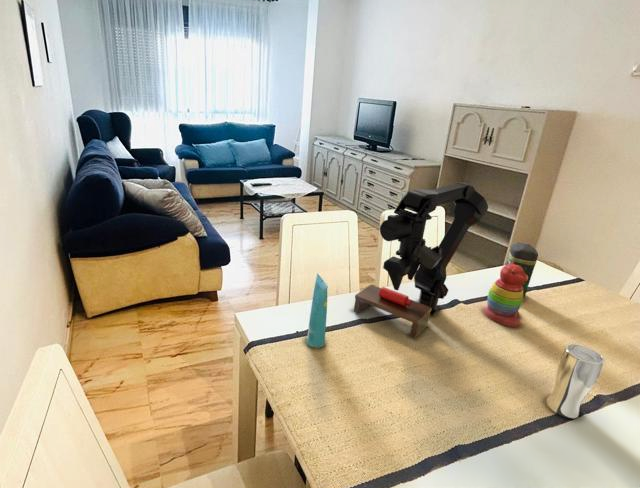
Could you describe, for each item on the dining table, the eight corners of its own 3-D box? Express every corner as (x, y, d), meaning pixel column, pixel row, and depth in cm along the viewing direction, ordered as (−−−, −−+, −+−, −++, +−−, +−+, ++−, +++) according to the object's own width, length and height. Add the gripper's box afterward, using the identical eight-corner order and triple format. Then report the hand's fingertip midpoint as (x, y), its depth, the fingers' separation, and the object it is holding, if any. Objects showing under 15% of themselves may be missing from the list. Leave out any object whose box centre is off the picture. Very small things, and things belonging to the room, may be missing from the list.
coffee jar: (526, 303, 130) (542, 253, 124) (500, 297, 133) (514, 248, 126) (521, 290, 139) (536, 243, 132) (497, 286, 142) (510, 239, 135)
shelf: (368, 300, 127) (371, 284, 125) (428, 324, 115) (431, 307, 113) (352, 311, 120) (355, 294, 118) (414, 339, 108) (418, 321, 106)
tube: (329, 349, 102) (337, 285, 95) (313, 352, 100) (319, 287, 93) (317, 333, 108) (323, 272, 101) (301, 336, 107) (307, 274, 100)
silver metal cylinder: (574, 401, 88) (597, 347, 83) (586, 424, 82) (611, 367, 77) (540, 393, 90) (560, 340, 85) (549, 414, 84) (571, 359, 79)
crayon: (377, 297, 116) (380, 287, 116) (382, 295, 119) (384, 286, 118) (407, 309, 111) (410, 298, 110) (411, 307, 113) (414, 297, 112)
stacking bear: (519, 329, 115) (537, 276, 109) (482, 319, 120) (497, 267, 113) (518, 313, 124) (534, 263, 118) (483, 304, 128) (497, 255, 122)
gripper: (427, 252, 96) (416, 306, 102) (453, 235, 109) (442, 283, 115) (386, 240, 103) (378, 291, 108) (415, 225, 116) (407, 271, 121)
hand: (403, 284), depth 113 cm, fingers open, 9 cm apart
